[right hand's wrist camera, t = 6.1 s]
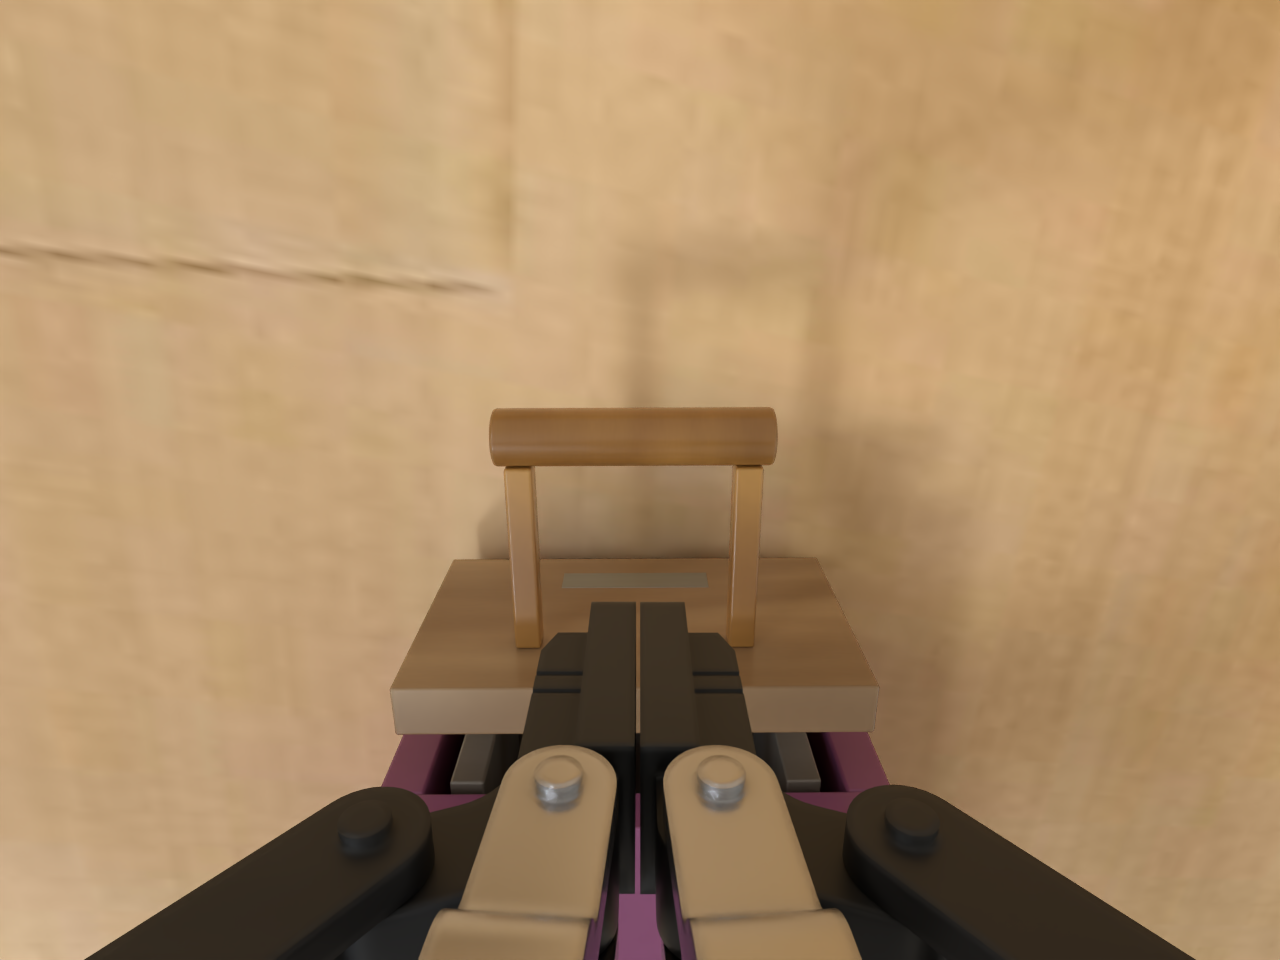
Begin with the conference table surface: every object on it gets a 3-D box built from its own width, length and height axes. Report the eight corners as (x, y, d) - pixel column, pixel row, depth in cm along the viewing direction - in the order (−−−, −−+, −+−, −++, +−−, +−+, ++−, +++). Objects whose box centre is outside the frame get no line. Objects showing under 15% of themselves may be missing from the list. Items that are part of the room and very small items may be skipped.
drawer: (434, 364, 21) (354, 435, 15) (832, 363, 21) (911, 432, 15) (498, 1036, 29) (464, 1248, 24) (777, 1034, 29) (812, 1245, 24)
